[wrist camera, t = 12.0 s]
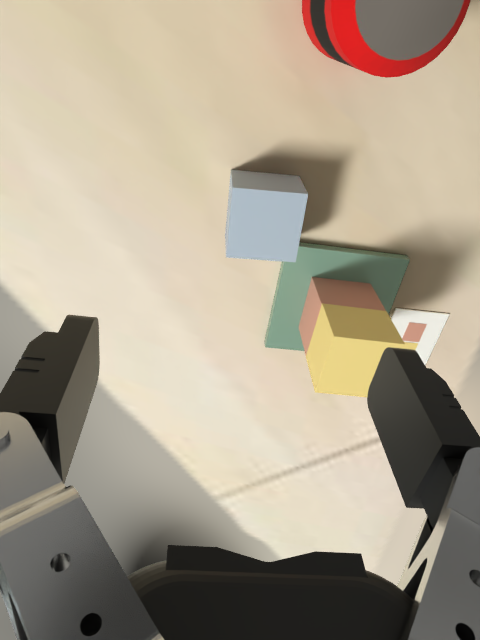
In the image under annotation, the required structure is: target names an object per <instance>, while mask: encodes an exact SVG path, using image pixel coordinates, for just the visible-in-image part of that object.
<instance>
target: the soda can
mask: <svg viewBox="0 0 480 640" xmlns="http://www.w3.org/2000/svg"><path fill="white" fill-rule="evenodd" d="M469 3H470V0H302V14H303V20H304V25H305V28H306V31H307V34H308V36H309V37H310V39H311V41H312V43H313V44H314V45H315V46H316V48H317V49H318V50H319V51H320V52H322V53H323V54H324V55H326V56H327V57H329V58H332V59H334V60H337V61H339V62H342V63H344V64H346V65H349V66H351V67H354V68H356V69H359V70H361V71H364V72H366V73H369V74H371V75H374V76H380V77H399V76H402V75H406V74H409V73H412V72H414V71H416V70H418V69H420V68H422V67H424V66H426V65H427V64H428V63H430V62H431V61H432V60H434V59H435V58H436V57H437V56H438V55H439V54H440V53H441V52H442V51H443V50H444V49H445V48H446V47H447V46H448V44H449V43H450V42H451V40H452V39H453V37H454V36H455V35H456V33H457V31H458V29H459V27H460V26H461V24H462V22H463V20H464V18H465V15H466V12H467V9H468V6H469Z"/></svg>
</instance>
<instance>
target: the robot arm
mask: <svg viewBox="0 0 480 640" xmlns="http://www.w3.org/2000/svg"><path fill="white" fill-rule="evenodd" d="M98 375H99V325H98V319H97V318H96V317H86V316H76V315H67V316H66V318H65V320H64V322H63V324H62V326H61V328H60V330H59V332H58V333H55V332H43V333H42V334H41V335H39V336H38V337H37V338H35V339H34V340H33V341H31V342H30V343H29V344H28V346H27V348H26V350H25V352H24V353H23V355H22V358H21V359H20V360H19V362H18V364H17V365H16V367H15V371H13V372H12V374H11V376H10V378H9V380H8V381H7V383H6V385H5V387H4V388H3V390H2V392H1V393H0V592H1V595H2V598H3V600H4V603H5V606H6V609H7V611H8V615H9V618H10V620H11V624H12V627H13V630H14V633H15V636H16V638H17V640H480V437H479V435H478V433H477V432H476V430H475V429H474V427H473V425H472V424H471V422H470V420H469V419H468V417H467V415H466V414H465V412H464V411H463V410H461V406H460V404H459V403H458V401H457V399H456V398H454V394H453V393H452V391H451V390H450V388H449V386H448V385H447V383H446V382H445V381H444V380H443V379H442V378H441V377H440V376H439V375H438V374H437V373H435V372H434V371H433V370H432V369H429V368H426V366H425V365H424V363H423V361H422V360H421V358H420V356H419V354H418V353H417V351H415V350H412V349H402V348H392V347H388V348H386V349H385V350H384V352H383V354H382V356H381V359H380V361H379V364H378V366H377V369H376V371H375V374H374V376H373V379H372V381H371V384H370V386H369V389H368V396H367V401H368V408H369V411H370V413H371V416H372V419H373V421H374V424H375V427H376V429H377V432H378V435H379V437H380V440H381V442H382V445H383V448H384V450H385V453H386V456H387V458H388V461H389V463H390V466H391V469H392V471H393V474H394V477H395V479H396V482H397V484H398V487H399V490H400V492H401V495H402V498H403V500H404V503H405V505H406V507H407V508H424V509H425V512H426V514H427V516H426V518H425V520H424V521H423V523H422V525H421V528H420V530H419V533H418V536H417V538H416V541H415V543H414V546H413V548H412V551H411V553H410V556H409V559H408V561H407V564H406V566H405V569H404V572H403V574H402V576H401V579H400V581H399V583H398V585H397V586H396V585H394V584H393V583H391V582H389V581H388V580H386V579H384V578H382V577H380V576H378V575H376V574H374V573H372V572H369V571H366V570H365V567H364V563H363V559H362V556H361V554H357V553H335V552H312V553H307V554H303V555H299V556H295V557H291V558H286V559H282V560H278V561H274V562H264V561H260V560H257V559H254V558H251V557H247V556H244V555H241V554H237V553H234V552H231V551H228V550H224V549H221V548H218V547H199V546H175V545H168V550H167V559H166V561H163V562H158V563H154V564H152V565H149V566H146V567H144V568H142V569H140V570H138V571H136V572H134V573H132V574H130V575H129V576H126V574H125V572H124V571H123V569H122V567H121V566H120V564H119V562H118V560H117V559H116V557H115V555H114V553H113V552H112V550H111V548H110V547H109V545H108V543H107V542H106V540H105V538H104V536H103V535H102V533H101V531H100V530H99V528H98V526H97V524H96V522H95V521H94V519H93V517H92V516H91V514H90V512H89V511H88V509H87V507H86V505H85V503H84V502H83V500H82V499H81V497H80V495H79V493H78V492H77V490H76V489H75V488H74V487H73V486H68V487H66V486H65V485H64V483H65V480H66V476H67V474H68V471H69V467H70V464H71V461H72V458H73V455H74V452H75V449H76V446H77V443H78V440H79V437H80V434H81V431H82V428H83V425H84V422H85V419H86V416H87V413H88V409H89V406H90V403H91V400H92V397H93V394H94V391H95V388H96V385H97V381H98Z"/></svg>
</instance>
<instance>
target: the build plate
mask: <svg viewBox="0 0 480 640" xmlns="http://www.w3.org/2000/svg"><path fill="white" fill-rule="evenodd" d="M409 261H410V259H409V258H408V257H407V256H406V255H399V254H391V253H383V252H375V251H367V250H358V249H350V248H342V247H334V246H326V245H318V244H310V243H302V242H299V247H298V252H297V257H296V262H284V261H282V264H281V269H280V274H279V278H278V283H277V287H276V292H275V296H274V301H273V305H272V310H271V314H270V319H269V323H268V328H267V333H266V337H265V347H269V348H279V349H290V350H300V351H304V347H303V343H302V339H301V335H300V331H299V323H300V320H301V316H302V312H303V308H304V304H305V301H306V297H307V293H308V289H309V286H310V282H311V278H312V277H317V278H326V279H335V280H343V281H352V282H361V283H370V284H371V285H372V287H373V289H374V290H375V292H376V294H377V296H378V298H379V299H380V301H381V303H382V305H383V306H384V308H385V310H386V311H387V313H388V315H389V312H390V310H391V307H392V305H393V302H394V299H395V297H396V294H397V292H398V289H399V287H400V284H401V281H402V279H403V276H404V274H405V271H406V269H407V266H408V263H409Z"/></svg>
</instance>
